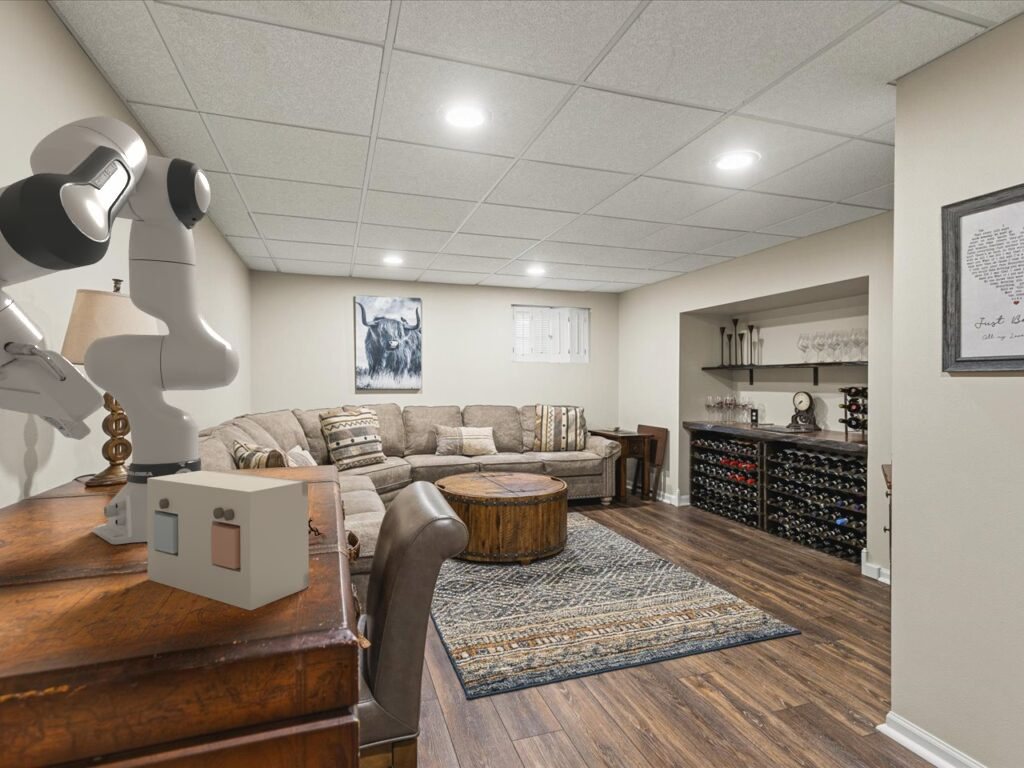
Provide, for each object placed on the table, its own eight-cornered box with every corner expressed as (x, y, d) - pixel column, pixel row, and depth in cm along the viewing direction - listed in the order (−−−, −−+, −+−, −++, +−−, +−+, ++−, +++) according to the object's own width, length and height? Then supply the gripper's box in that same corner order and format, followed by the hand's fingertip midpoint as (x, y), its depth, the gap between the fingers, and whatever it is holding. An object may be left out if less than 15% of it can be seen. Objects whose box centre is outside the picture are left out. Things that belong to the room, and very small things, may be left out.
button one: (153, 548, 77) (153, 514, 77) (207, 535, 84) (207, 503, 84) (172, 553, 75) (172, 518, 75) (227, 539, 82) (226, 506, 82)
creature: (333, 542, 102) (295, 532, 103) (339, 515, 102) (300, 505, 103) (312, 555, 94) (271, 544, 95) (319, 525, 94) (277, 514, 95)
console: (143, 580, 78) (142, 478, 79) (207, 561, 87) (206, 469, 87) (246, 612, 67) (245, 492, 67) (308, 587, 75) (308, 480, 75)
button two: (211, 563, 71) (211, 525, 71) (264, 547, 78) (264, 512, 78) (234, 569, 68) (234, 529, 68) (287, 551, 75) (287, 516, 75)
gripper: (65, 327, 55) (150, 425, 63) (-20, 326, 65) (63, 411, 72) (1, 363, 51) (101, 464, 59) (-80, 356, 60) (16, 444, 68)
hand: (79, 435), depth 66 cm, fingers closed
